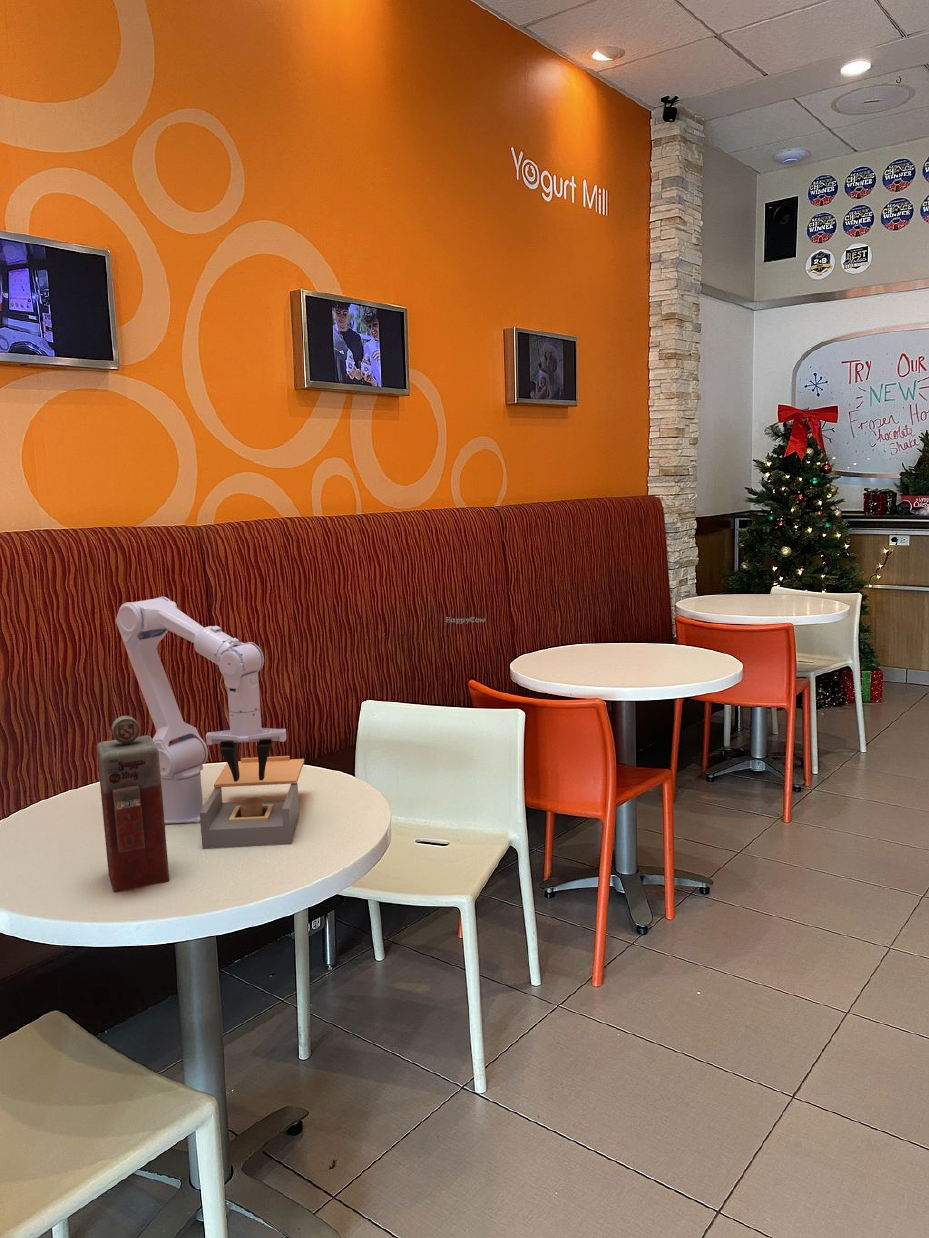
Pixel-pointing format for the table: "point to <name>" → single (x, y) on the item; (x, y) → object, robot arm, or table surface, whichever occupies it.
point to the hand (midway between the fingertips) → (249, 779)
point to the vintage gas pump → (132, 808)
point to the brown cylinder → (251, 807)
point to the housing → (248, 822)
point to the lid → (275, 772)
